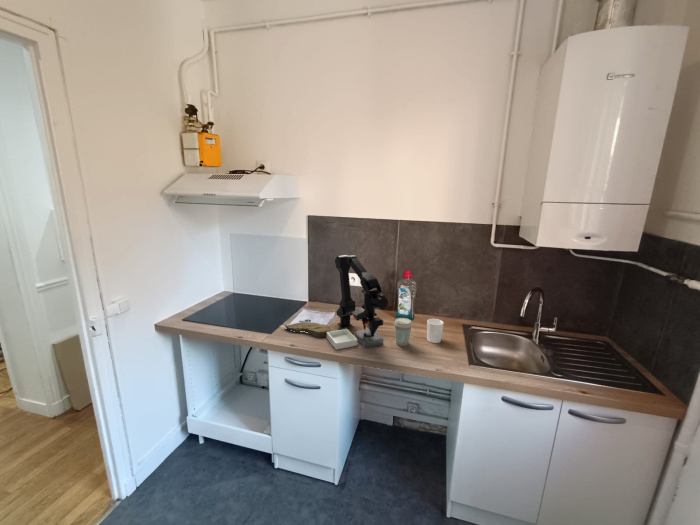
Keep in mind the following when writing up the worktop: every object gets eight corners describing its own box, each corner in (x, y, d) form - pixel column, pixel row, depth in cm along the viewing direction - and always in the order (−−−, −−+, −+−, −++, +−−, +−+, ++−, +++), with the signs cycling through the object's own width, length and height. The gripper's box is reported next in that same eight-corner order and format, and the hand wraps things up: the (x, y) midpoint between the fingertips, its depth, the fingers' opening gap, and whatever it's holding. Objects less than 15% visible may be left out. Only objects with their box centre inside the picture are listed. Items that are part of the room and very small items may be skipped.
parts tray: (326, 337, 156) (326, 332, 156) (346, 334, 161) (346, 328, 160) (335, 349, 144) (335, 343, 144) (357, 345, 149) (357, 339, 148)
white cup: (431, 344, 150) (432, 325, 148) (423, 337, 158) (424, 319, 156) (445, 342, 153) (446, 324, 150) (436, 335, 160) (438, 318, 158)
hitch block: (354, 337, 157) (354, 331, 157) (371, 333, 161) (372, 328, 161) (364, 347, 147) (365, 341, 146) (383, 343, 151) (383, 338, 150)
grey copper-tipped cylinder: (362, 339, 155) (363, 322, 153) (370, 337, 157) (371, 320, 155) (366, 343, 151) (367, 325, 149) (374, 341, 153) (375, 324, 151)
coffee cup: (390, 340, 154) (391, 318, 151) (405, 338, 157) (406, 316, 154) (398, 348, 146) (400, 325, 143) (414, 346, 149) (415, 322, 146)
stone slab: (336, 328, 166) (335, 320, 164) (328, 341, 156) (327, 333, 154) (291, 324, 174) (290, 316, 172) (281, 336, 163) (280, 328, 161)
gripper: (347, 299, 155) (346, 327, 158) (363, 311, 138) (362, 343, 142) (366, 296, 159) (366, 324, 163) (384, 308, 143) (383, 339, 146)
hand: (368, 332), depth 153 cm, fingers open, 7 cm apart
